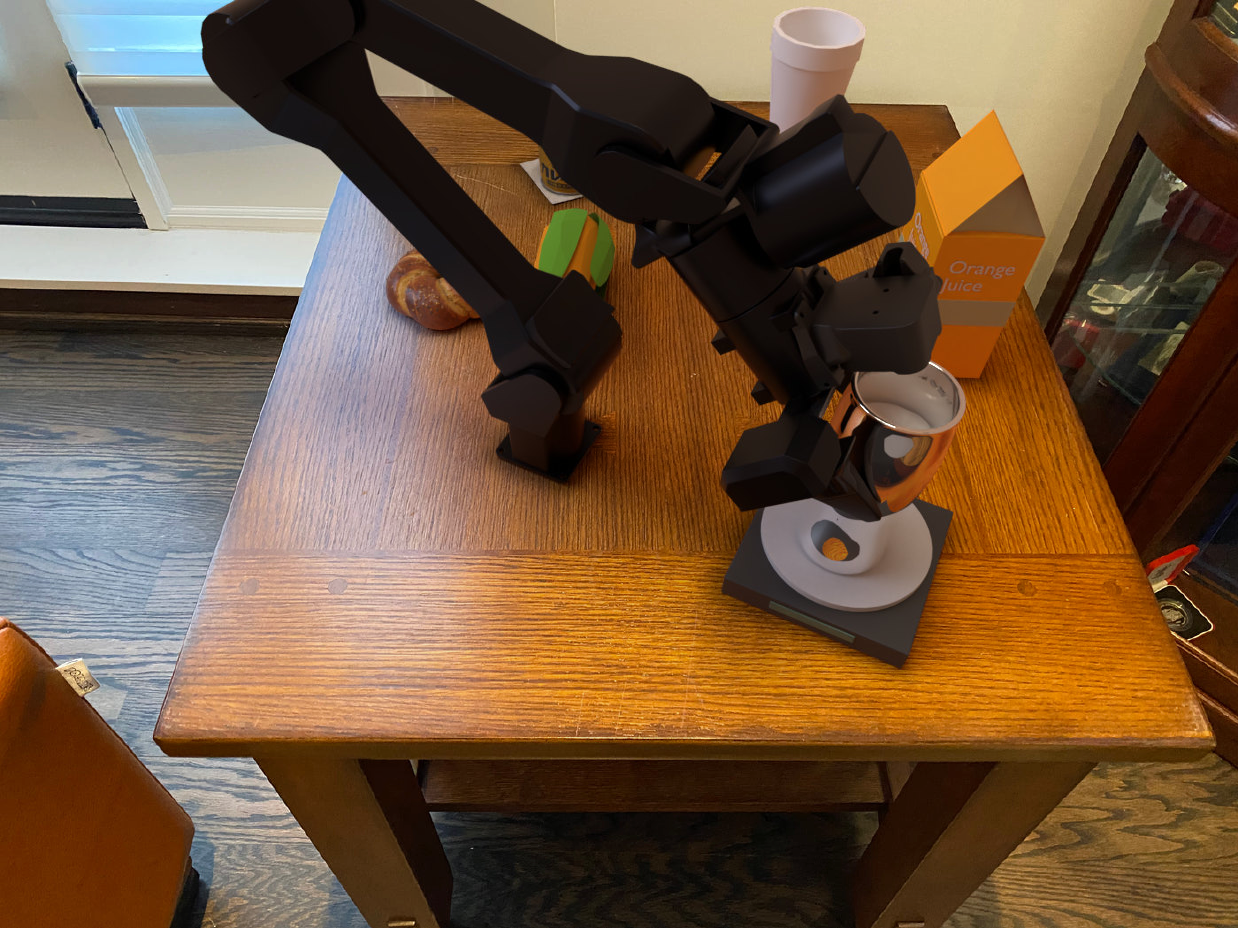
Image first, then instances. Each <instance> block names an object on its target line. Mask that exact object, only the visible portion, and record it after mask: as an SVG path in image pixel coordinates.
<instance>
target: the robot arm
mask: <svg viewBox="0 0 1238 928" xmlns="http://www.w3.org/2000/svg"><path fill="white" fill-rule="evenodd" d="M200 40H201V47H202V48H201V60H202V62H203V65H204V68H205V71H206V72H207V74H208V76H209V77H210V79H211V81H212V82H213V84H214V85H216V87H217V88H218V90H220V91H221V92H222V93H223V94H224V95H226V96H227V97H228V98H229V99H230V100H231V101H232V102H234V103H235V105H237V106H239V108H241V109H242V110H244V112H245V113H246V114H247V115H249V116H250V117H251V118H252V119H254V121H256V122H257V123H258V124H260V125H261V126H262V127H263V128H264V129H265V130H266V131H268V132H269V133H272V134H275V135H276V136H277V135H278V136H280V137H283V138H286V139H289V140H292V141H294V142H297V143H299V144H302V145H305V146H308V147H311V148H314V149H316V150H319V151H320V152H322V153H323V154H324V155H325V156H326V157H327V158H328V159H329V160H330V161H331V162H332V163H333V165H335V167H337V168H338V170H340V171H341V172H342V174H343V175H344V176H345V177H346V178H347V179H348V180H349V181H350V182H351V183H352V184H353V185H354V186H355V187H356V188H357V189H358V191H359V192H360V193H361V194H363V196H364V197H365V198H366V199H367V200H368V201H369V202H370V203H371V204H372V205H373V206H374V207H375V208H376V209H377V210H378V211H379V213H380V214H382V215H383V217H384V218H385V219H386V220H388V222H389V223H390V224H391V225H392V226H393V227H394V228H395V229H396V230H397V231H398V233H400V235H402V236H403V237H404V239H406V241H407V242H408V243H409V244H410V245H411V246H412V247H413V249H416V250H417V251H418V252H419V253H420V254H421V255H422V256H423V257H424V258H425V259H426V260H427V261H428V262H429V263H430V264H431V265H432V266H433V268H434V269H435V270H436V271H437V272H438V273H439V274H440V275H441V276H442V277H443V278H444V279H445V280H446V281H447V282H448V283H449V284H450V285H451V286H452V287H453V288H454V290H455V291H456V292H457V293H458V294H459V295H460V296H461V297H462V298H463V299H464V300H465V301H466V302H467V303H468V304H469V305H470V306H471V307H472V308H473V309H474V310H475V311H476V313H477V314H478V315H479V316H480V319H481V321H482V325H483V328H484V332H485V335H486V340H487V342H488V346H489V350H490V354H491V357H492V361H493V364H494V365H495V366H496V367H497V369H498V370H499V372H498V374H496V376H495V377H494V378H493V380H492V381H490V383H489V384H488V385H487V387H486V388H485V389H484V391H483V392H482V393H481V394H480V398H481V401H482V402H483V404H484V406H485V408H486V410H487V412H488V414H489V416H490V417H492V418H494V419H497V420H499V421H501V422H504V423H507V426H508V433H507V434H506V435H505V437H504V438H503V439H502V441H501V442H500V443H499V444H498V446H497V447H496V448H495V456H496V457H497V458H498V459H500V460H502V461H505V462H507V463H510V464H512V465H514V466H517V467H519V468H522V469H523V470H526V471H529V472H532V473H534V474H536V475H538V476H541V477H543V478H545V479H548V480H550V481H553V482H555V483H558V484H560V485H566V484H567V483H569V482H570V480H571V479H572V477H574V476H573V475H574V474H575V473H576V471H577V470H578V468H579V467H580V466H581V464H582V463H583V461H584V459H585V458H586V456H587V455H588V453H589V452H590V451H591V449H592V448H593V446H594V445H595V444H596V442H597V441H598V439H599V438H600V436H601V435H602V432H603V427H602V426H601V424H600V423H597V422H594V421H591V420H589V419H587V418H586V403H587V400H589V398H590V397H591V395H592V393H593V392H594V391H595V390H596V388H597V387H598V385H599V384H600V382H601V381H602V379H603V378H604V377H605V376H606V374H607V373H608V371H609V370H610V368H611V367H612V366H613V365H614V363H615V361H616V360H617V359H618V357H619V356H620V354H621V351H622V349H623V337H622V336H623V333H624V332H623V331H624V330H623V329H622V327H621V324H620V323H619V321H618V320H617V319H616V316H614V315H613V314H614V312H616V307H615V306H613V305H612V304H610V303H609V302H608V301H606V300H605V299H604V300H603V299H602V298H601V297H600V296H599V295H598V294H597V293H596V292H595V290H594V289H593V288H592V286H591V285H590V284H589V282H588V281H587V279H586V278H585V276H584V275H583V274H581V273H579V272H578V271H576V270H571V271H570V272H569V273H568V274H567V275H566V277H565V278H563V277H560V276H557V275H554V274H551V273H548V272H545V271H542V270H539V269H537V268H535V267H534V265H533V264H532V263H531V262H530V261H529V260H528V259H527V258H526V257H525V256H524V255H523V253H522V252H521V251H520V250H519V249H518V248H517V247H516V246H515V244H513V242H511V240H510V239H509V238H508V237H507V236H506V235H505V234H504V233H503V231H502V230H501V229H500V228H499V227H498V226H497V224H495V223H494V222H493V220H492V219H491V218H490V217H489V216H488V215H487V214H486V213H485V211H484V210H483V209H482V208H481V207H480V206H479V205H478V204H477V203H476V202H475V201H474V200H473V198H472V197H470V195H469V194H468V193H467V192H466V190H464V189H463V187H462V186H461V185H460V184H459V183H458V182H457V181H456V179H455V178H454V177H452V175H451V174H450V173H449V172H448V170H446V169H445V168H444V166H443V165H442V164H441V163H440V162H439V161H438V160H437V159H436V158H435V157H434V156H433V154H432V153H431V152H430V151H429V150H428V149H427V148H426V147H425V145H424V144H423V143H422V142H421V141H420V140H419V139H418V138H417V136H415V135H414V133H412V131H411V130H410V129H409V127H407V125H406V124H404V123H403V121H402V120H401V119H400V118H399V117H398V116H397V115H396V113H395V112H394V111H393V109H391V108H390V107H389V106H388V105H387V103H386V102H385V101H384V100H383V99H382V97H381V96H380V95H379V94H378V91H377V87H376V83H375V80H374V76H373V73H372V68H371V66H370V61H369V58H368V53H367V51H368V52H370V53H372V54H374V55H376V56H377V57H380V58H381V59H383V60H385V61H386V62H388V63H390V64H392V65H394V66H396V67H397V68H399V69H401V70H403V71H405V72H407V73H409V74H411V75H413V76H414V77H417V78H418V79H420V80H422V81H423V82H426V83H428V84H429V85H432V86H433V87H435V88H436V89H438V90H440V91H443V92H444V93H446V94H448V95H450V96H451V97H453V98H456V99H457V100H460V101H461V102H463V103H464V104H466V105H468V106H470V107H472V108H474V109H476V110H477V111H479V112H481V113H483V114H484V115H487V116H488V117H490V118H492V119H494V120H495V121H497V122H500V123H501V124H503V125H505V126H507V127H509V128H511V129H513V130H515V131H516V132H518V133H520V134H522V135H524V136H525V137H526V138H528V139H529V140H530V141H532V142H533V143H535V144H536V145H537V146H538V145H539V146H540V147H541V148H542V149H543V151H544V152H545V154H546V156H547V157H548V159H549V161H550V162H551V164H552V165H553V167H554V169H555V170H556V172H557V174H558V175H559V177H560V178H561V179H562V180H563V181H564V182H565V183H566V184H567V185H569V186H570V187H572V188H573V189H574V190H576V191H577V192H578V193H580V194H581V195H583V196H582V197H583V198H585V199H587V200H588V201H589V202H591V203H592V204H594V205H595V206H596V207H598V208H599V209H600V210H602V212H604V213H606V214H607V215H609V216H610V217H612V218H614V219H615V220H618V221H619V222H623V223H626V224H629V225H634V231H635V240H634V246H633V250H632V257H631V261H630V263H631V266H632V267H633V268H634V269H636V270H641V269H643V268H645V267H647V266H649V265H651V264H653V263H655V262H656V261H658V260H660V259H663V258H664V259H665V260H666V261H667V262H668V264H669V265H670V266H671V268H672V269H673V270H674V271H675V273H676V274H677V275H678V277H679V278H680V280H682V282H683V283H684V284H685V286H686V287H687V288H688V290H689V291H690V292H691V294H692V295H693V297H694V298H695V299H696V300H697V301H698V303H699V304H700V306H701V307H702V308H703V310H705V313H707V315H708V316H709V318H710V319H711V320H712V322H713V323H714V324H715V325H716V327H717V328H718V330H717V331H716V333H715V334H714V337H713V338H712V339H711V341H710V344H711V346H713V348H714V350H715V351H716V352H717V353H718V354H719V355H720V356H722V355H725V354H728V353H730V352H733V351H735V352H736V353H737V354H738V355H739V357H740V358H741V359H742V361H743V363H745V365H746V366H747V367H748V369H749V370H750V372H751V373H752V374H753V376H754V377H755V378H756V380H757V381H756V382H755V383H754V386H753V388H752V390H751V391H750V393H749V395H750V396H751V397H752V399H753V400H754V401H755V402H756V403H757V405H758V406H760V407H761V406H763V405H767V404H770V403H774V402H777V403H778V404H779V405H782V406H784V407H783V409H782V411H781V413H780V415H779V417H778V419H777V420H775V421H771V422H767V423H764V424H761V425H757V426H754V427H751V428H747V429H744V430H743V431H742V433H741V435H740V437H739V439H738V441H737V442H736V444H735V446H734V448H733V450H732V451H731V454H730V455H729V457H728V459H727V461H726V463H725V464H724V466H723V468H722V470H721V475H720V480H719V487H721V489H722V490H723V492H724V493H725V494H726V495H727V496H728V498H729V499H730V500H731V501H732V502H733V504H734V505H735V506H736V508H737V509H738V510H739V511H740V513H744V512H749V511H754V510H757V509H760V508H765V507H770V506H775V505H780V504H785V503H790V502H795V501H800V500H805V499H810V498H813V499H815V500H817V501H820V502H822V503H824V504H826V505H829V506H831V507H833V508H835V509H838V510H840V511H842V512H844V513H847V514H849V515H851V516H853V517H855V518H858V519H860V520H862V521H864V522H875V521H880V520H881V518H882V513H881V511H880V509H879V507H878V505H877V503H876V501H875V499H874V497H873V496H872V494H871V493H870V491H869V489H868V488H867V486H866V485H865V483H864V481H863V480H862V478H861V477H860V475H859V473H858V472H857V470H856V469H855V467H854V466H853V464H852V462H851V461H850V458H849V457H850V454H851V451H852V448H853V445H854V442H855V439H856V436H855V435H851V436H847V437H843V438H840V439H839V437H838V434H837V433H836V431H835V430H834V429H833V427H832V426H831V425H830V422H829V421H828V420H826V419H824V416H825V413H826V411H827V409H828V408H829V405H830V403H831V401H832V400H833V396H834V394H835V393H836V391H837V392H838V393H839V394H840V395H841V396H842V395H843V392H844V390H845V389H846V387H847V385H848V383H849V381H850V379H851V377H852V374H853V372H894V373H896V374H898V375H910V374H915V373H918V372H920V371H922V370H923V369H925V368H926V367H927V366H928V364H929V362H930V360H931V353H932V350H933V348H934V345H935V342H936V340H937V337H938V336H939V335H940V334H941V331H942V325H941V319H940V313H939V307H938V301H937V297H938V295H939V292H940V290H941V287H942V285H943V280H942V278H941V277H940V276H938V275H935V273H934V268H933V267H930V266H929V264H928V262H927V261H926V260H925V258H924V257H923V256H922V255H921V254H920V252H919V251H918V250H917V249H916V247H915V246H914V245H913V244H912V243H911V242H910V241H908V242H897V241H896V242H888V243H886V244H885V245H884V247H883V249H882V252H881V254H880V256H879V257H878V259H877V262H876V264H875V265H873V266H872V267H869V268H867V269H864V270H862V271H860V272H857V273H854V274H853V275H850V276H848V277H845V278H843V279H841V280H836V279H835V278H834V276H833V275H832V274H831V272H830V271H829V270H828V268H827V267H826V266H824V265H822V266H820V263H823V262H825V261H827V260H829V259H832V258H834V257H837V256H838V255H841V254H843V253H845V252H848V251H850V250H852V249H854V248H856V247H859V246H861V245H864V244H866V243H867V242H870V241H872V240H875V239H877V238H880V237H882V236H884V235H886V234H888V233H891V232H892V231H895V230H897V229H900V228H902V227H904V225H906V224H907V223H908V222H909V221H910V220H911V219H912V217H913V215H914V210H915V205H916V184H915V178H914V174H913V170H912V167H911V164H910V161H909V158H908V156H907V153H906V152H905V149H904V148H903V145H902V144H901V142H900V139H899V138H898V137H897V136H896V135H897V134H895V132H894V131H893V130H891V129H890V130H888V129H886V128H885V127H884V125H883V123H881V122H880V121H878V120H877V119H876V118H875V117H873V116H872V115H870V114H867V113H865V112H854V110H853V108H852V107H851V105H850V103H849V101H848V99H846V97H845V95H840V94H837V95H835V96H834V97H832V98H830V99H829V100H827V101H825V102H824V103H822V104H821V105H819V106H818V107H817V108H816V109H815V110H814V111H813V112H812V113H811V114H810V115H809V116H808V117H806V118H805V119H804V120H802V121H800V122H799V123H797V124H795V125H794V126H792V127H790V128H789V129H787V130H785V131H784V132H782V133H780V129H779V126H778V125H777V124H775V123H773V122H770V120H768V119H765V118H764V117H763V118H762V117H761V116H758V115H756V114H753V113H751V112H749V111H746V110H744V109H741V108H739V107H736V106H734V105H733V104H729V103H727V102H725V101H722V100H721V99H718V98H715V97H714V96H710V94H709V93H708V92H707V91H706V89H705V88H704V87H703V86H702V85H701V84H700V83H698V82H697V81H696V80H694V79H693V78H691V77H690V76H688V75H686V74H683V73H681V72H678V71H676V70H673V69H669V68H666V67H663V66H660V65H656V64H653V63H650V62H648V61H645V60H641V59H639V58H634V57H632V56H622V55H621V56H620V55H619V56H618V55H596V54H594V55H593V54H587V53H586V54H585V53H582V52H580V51H576V50H573V49H570V48H567V47H565V46H564V45H561V44H560V43H558V42H556V41H553V40H551V39H549V37H546V36H544V35H542V34H541V33H538V32H536V31H535V30H533V29H531V28H529V27H527V26H525V25H523V24H521V23H520V22H518V21H516V20H514V19H512V18H510V17H508V16H506V15H505V14H503V13H501V12H499V11H497V10H495V9H493V8H491V7H489V6H487V5H486V4H484V3H481V2H479V1H478V0H232V1H230V2H228V3H226V4H224V5H223V6H221V7H219V8H217V9H216V10H214V11H212V12H210V13H209V14H207V15H206V17H205V18H204V19H203V20H202V21H201V27H200ZM714 154H719V155H718V157H717V158H716V159H715V161H714V162H713V163H712V165H711V166H710V167H709V168H708V170H707V171H706V173H704V175H703V176H702V177H701V179H700V180H699V179H697V177H698V176H699V175H700V173H701V172H702V171H703V169H705V167H706V166H707V165H708V163H709V162H710V160H711V159H712V157H713V156H714Z"/></svg>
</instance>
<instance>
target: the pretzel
mask: <svg viewBox="0 0 1238 928" xmlns="http://www.w3.org/2000/svg"><path fill="white" fill-rule="evenodd" d="M385 280H386V281H385V294H386V298H387V301H388V303H389V305H390V306H391V307H392V309H394V310H395V311H396V313H399V314H400V315H403V316H405V317H408V318H412V319H413V320H414V321H416V323H418V324H419V325H420V326H422V327H424V328H426V329H430V330H440V331H441V330H443V331H444V330H445V331H446V330H449V329H454V328H456V327H458V326H460V325H462V324H464V323H465V322H466V321H467V320H469V319H479V318H480V316H479V315H478V314H477V313H476V311H475V310H474V309H473V308H472V307H471V306H470V305H469V304H468V303H467V302H466V301H465V300H464V299H463V298H462V297H461V296H460V295H459V294H458V293H457V292H456V291H455V290H454V288H453V287H452V286H451V285H450V284H449V283H448V282H447V281H446V280H445V279H444V278H443V277H442V276H441V275H440V274H439V273H438V272H437V271H436V270H435V269H434V268H433V266H432V265H431V264H430V263H429V262H428V261H427V260H426V259H425V258H424V257H423V256H422V255H421V254H420V253H419V252H418V251H417V250H416V249H415V248H412V249H411V250H408V251H406V253H404V254H403V255H402V256H400V258H399V260H398V261H397V262H396V263H395V265H394V266H393V268H392V269H391V271H390V272H389V274H388V276H387V277H386V279H385ZM480 319H481V318H480Z"/></svg>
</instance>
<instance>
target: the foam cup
mask: <svg viewBox="0 0 1238 928" xmlns="http://www.w3.org/2000/svg"><path fill="white" fill-rule="evenodd" d="M866 31H867V28H866V27H865V25H864V24H863V23H862V22H861V20H859V18H857V17H855V16H853V15H851V14H849V13H847V12H845V11H843V10H840V9H839V10H838V9H834V8H829V7H825V6H799V7H795V8H791V9H786V10H785V11H783V12H781V13H780V14H778V15H776V16H775V17H774V22H773V25H772V31H771V37H770V44H769V50H770V52H771V55H770V56H771V57H770V62H771V63H770V88H769V89H770V93H769V94H770V96H769V99H770V100H769V121H770V122H773V123H775V124H777V125H778V126H779V129H780V133H782V132H784V131H785V130H787V129H789V128H790V127H792V126H794V125H795V124H797V123H799V122H800V121H802V120H804V119H805V118H806V117H808V116H809V115H810V114H811V113H812V112H813V111H814V110H815V109H816V108H817V107H818V106H819V105H821V104H822V103H824V102H825V101H827V100H829V99H830V98H832V97H834V96H835V95H837V94H840V95H844V96H845V95H846V92H847V90H848V87H849V85H850V82H851V79H852V76H853V73H854V72H855V69H856V66H857V63H858V62H859V61H860V60H861V55H862V51H863V46H864V42H865V37H866V33H867V32H866Z"/></svg>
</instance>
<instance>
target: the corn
mask: <svg viewBox="0 0 1238 928" xmlns="http://www.w3.org/2000/svg"><path fill="white" fill-rule="evenodd" d="M536 253H537V254H536V257H535V262H534V265H533V266H534V267H535V268H537V269H539V270H542V271H545V272H548V273H551V274H554V275H557V276H560V277H563V278H565V277H566V275H567V274H568V273H569V272H570V271H571V270H576V271H578V272H579V273H581V274H583V275H584V276H585V278H586V279H587V281H588V282H589V284H590V285H591V286H592V288H593V289H594V290H595V292H596V293H597V294H598V295H599V296H600V297H601V298H602V299H603V300H604V301H605V300H606V292H607V290H608V289H607V288H608V284H609V283H608V282H609V279H610V273H611V271H612V269H613V266H614V258H615V253H616V246H615V242H614V239H613V236H612V233H611V230H610V227H609V225H608V224H607V222H605V220H604V219H603V218H602V217H601V216H600V215H599V214H598V213H596V212H595V211H594V212H591V213H588V210H587V209H583V208H578V207H572V208H567V209H561V210H557V211H554V212H553V215H552V217H551V219H550V223H549V224H548V225H546V226H545V227H544V229H543V232H542V235H541V239H540V243H539V246H538V250H537V252H536Z"/></svg>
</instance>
